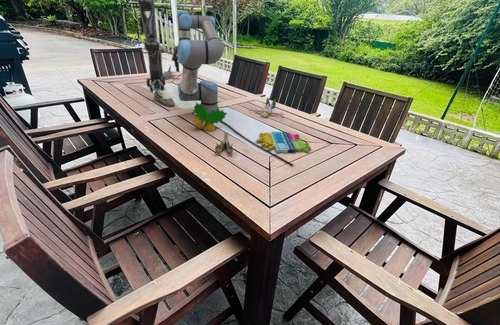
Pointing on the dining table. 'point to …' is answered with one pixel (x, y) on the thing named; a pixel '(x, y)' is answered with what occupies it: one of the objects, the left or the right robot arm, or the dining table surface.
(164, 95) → the snakeskin print shoe
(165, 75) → the airplane
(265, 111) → the toy
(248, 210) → the dining table surface
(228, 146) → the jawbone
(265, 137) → the sign
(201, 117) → the ornament
